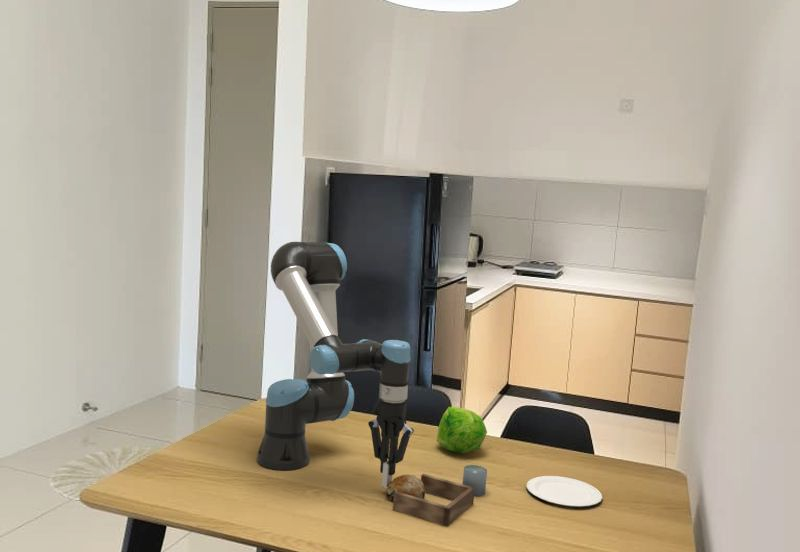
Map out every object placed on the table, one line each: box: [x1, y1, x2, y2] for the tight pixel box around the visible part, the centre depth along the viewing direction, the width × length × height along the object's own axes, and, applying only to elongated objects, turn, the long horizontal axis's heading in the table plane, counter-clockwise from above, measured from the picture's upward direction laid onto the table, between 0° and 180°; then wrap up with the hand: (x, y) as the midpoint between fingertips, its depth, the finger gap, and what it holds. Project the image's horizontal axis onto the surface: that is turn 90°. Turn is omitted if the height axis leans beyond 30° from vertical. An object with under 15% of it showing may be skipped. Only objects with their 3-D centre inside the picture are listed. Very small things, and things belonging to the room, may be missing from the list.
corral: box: [392, 473, 475, 527], centre depth 185 cm, size 15×16×4 cm
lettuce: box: [436, 406, 488, 455], centre depth 230 cm, size 15×20×14 cm
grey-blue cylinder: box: [462, 464, 488, 498], centre depth 197 cm, size 6×6×6 cm
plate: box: [526, 475, 603, 508], centre depth 200 cm, size 21×21×2 cm
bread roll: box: [385, 474, 426, 502], centre depth 189 cm, size 10×10×8 cm
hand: (386, 485), depth 191 cm, fingers closed
